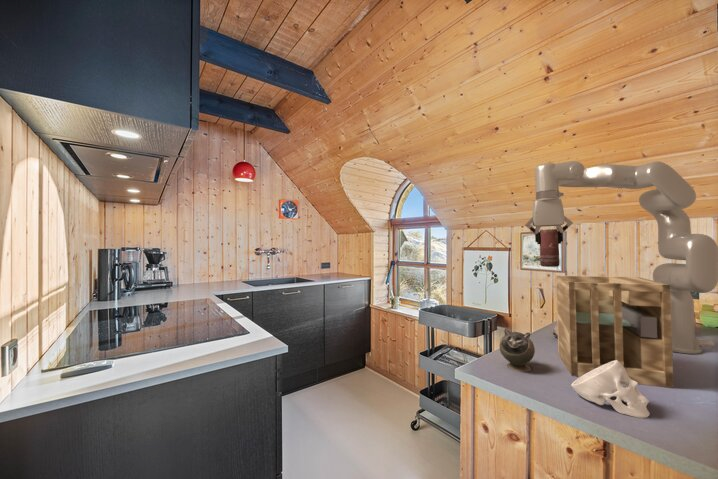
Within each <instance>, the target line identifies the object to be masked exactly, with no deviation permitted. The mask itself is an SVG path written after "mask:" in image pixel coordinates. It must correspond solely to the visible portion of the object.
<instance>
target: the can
mask: <svg viewBox="0 0 718 479" xmlns="http://www.w3.org/2000/svg"><path fill="white" fill-rule="evenodd" d="M539 234H540V244H539V259H540V263H539V264H540V266H541V267H543V268H544V267H547V268H549V267H551V268H552V267H553V268H554V267H555V268H556V267H560V244H559V240H558V230H557V228H555V229H554V228H552V229H550V228H549V229H540V230H539Z"/></svg>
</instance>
